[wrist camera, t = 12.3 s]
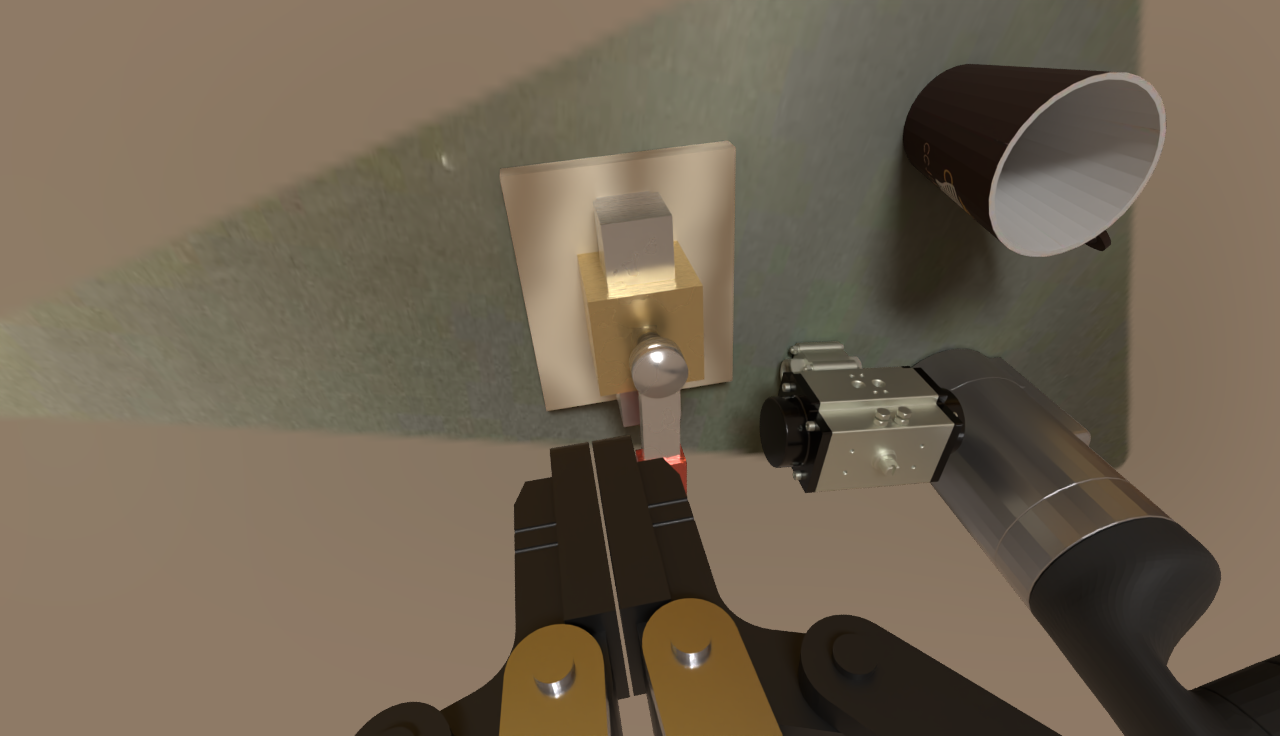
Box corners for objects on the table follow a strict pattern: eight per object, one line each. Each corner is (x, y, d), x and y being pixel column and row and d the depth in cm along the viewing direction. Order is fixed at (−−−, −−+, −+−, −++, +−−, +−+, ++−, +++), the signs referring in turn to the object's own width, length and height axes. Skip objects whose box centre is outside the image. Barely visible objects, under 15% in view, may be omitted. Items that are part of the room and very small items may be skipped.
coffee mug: (874, 83, 36) (982, 125, 28) (1020, 14, 35) (1176, 36, 27) (902, 253, 42) (996, 328, 34) (1025, 199, 42) (1151, 261, 34)
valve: (674, 182, 35) (709, 231, 29) (682, 371, 43) (711, 441, 37) (568, 195, 35) (581, 249, 29) (595, 385, 42) (609, 459, 36)
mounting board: (727, 140, 36) (735, 147, 35) (726, 368, 45) (732, 380, 44) (500, 168, 35) (499, 177, 34) (545, 397, 44) (546, 411, 43)
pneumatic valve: (876, 381, 48) (969, 493, 39) (730, 389, 46) (789, 509, 37) (896, 319, 45) (1003, 422, 36) (741, 324, 43) (809, 435, 34)
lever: (627, 339, 32) (632, 356, 30) (681, 332, 32) (688, 349, 31) (637, 511, 39) (642, 531, 37) (682, 504, 39) (688, 523, 38)
